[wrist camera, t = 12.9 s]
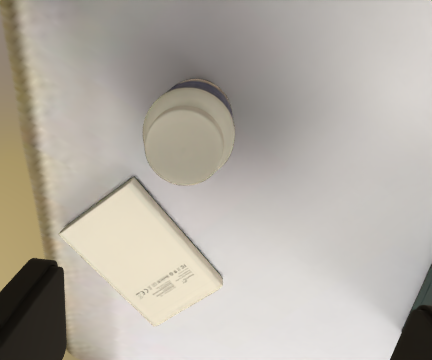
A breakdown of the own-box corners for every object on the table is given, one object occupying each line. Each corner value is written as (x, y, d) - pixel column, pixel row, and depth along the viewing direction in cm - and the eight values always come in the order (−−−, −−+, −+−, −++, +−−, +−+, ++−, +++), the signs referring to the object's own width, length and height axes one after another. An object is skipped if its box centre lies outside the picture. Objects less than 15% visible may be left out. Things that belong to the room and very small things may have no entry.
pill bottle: (162, 75, 25) (128, 90, 16) (234, 80, 25) (241, 98, 16) (161, 146, 27) (130, 195, 18) (228, 150, 27) (232, 202, 18)
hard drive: (135, 175, 28) (223, 276, 31) (65, 226, 30) (155, 316, 33) (130, 182, 26) (223, 288, 30) (56, 235, 28) (152, 329, 32)
